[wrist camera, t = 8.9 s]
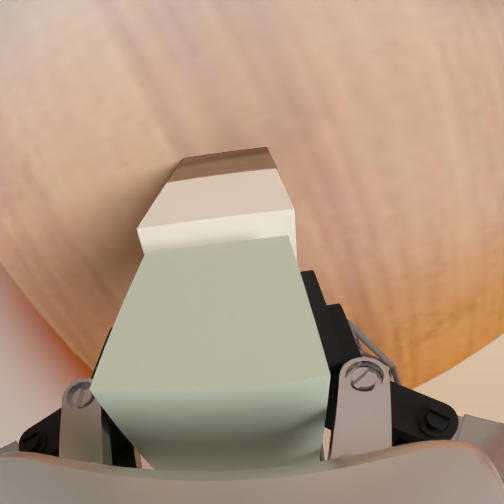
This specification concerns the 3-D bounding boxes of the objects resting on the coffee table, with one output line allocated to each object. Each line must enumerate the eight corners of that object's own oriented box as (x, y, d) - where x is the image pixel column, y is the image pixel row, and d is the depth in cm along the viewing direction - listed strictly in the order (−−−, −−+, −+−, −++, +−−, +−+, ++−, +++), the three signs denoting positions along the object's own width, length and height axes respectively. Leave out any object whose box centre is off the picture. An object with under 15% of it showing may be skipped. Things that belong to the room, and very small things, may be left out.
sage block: (145, 252, 11) (89, 389, 6) (288, 235, 11) (330, 375, 6) (178, 351, 13) (161, 476, 8) (293, 340, 13) (318, 468, 8)
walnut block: (183, 158, 22) (167, 181, 17) (266, 147, 22) (276, 167, 17) (197, 232, 25) (188, 273, 20) (274, 222, 25) (284, 262, 20)
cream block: (166, 182, 17) (136, 229, 12) (275, 168, 17) (294, 208, 12) (187, 274, 20) (173, 342, 15) (283, 263, 20) (299, 329, 15)
